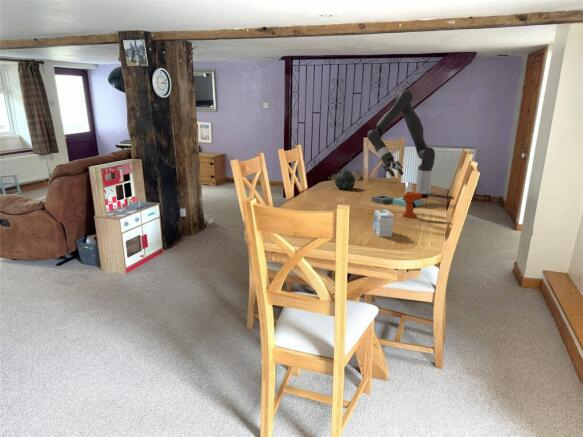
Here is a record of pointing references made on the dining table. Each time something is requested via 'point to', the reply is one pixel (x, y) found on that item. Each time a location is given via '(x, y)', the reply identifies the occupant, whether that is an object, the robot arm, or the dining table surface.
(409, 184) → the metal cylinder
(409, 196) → the toy drill
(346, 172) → the squash
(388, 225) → the light bulb box
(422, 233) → the dining table surface
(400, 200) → the block
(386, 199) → the socket block
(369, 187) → the dining table surface
